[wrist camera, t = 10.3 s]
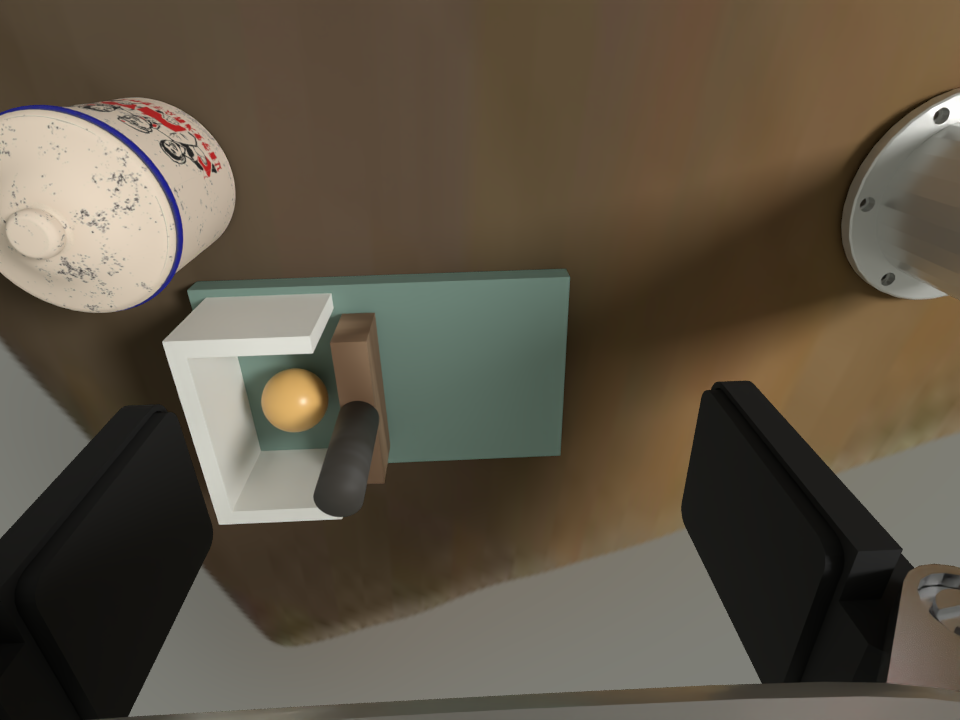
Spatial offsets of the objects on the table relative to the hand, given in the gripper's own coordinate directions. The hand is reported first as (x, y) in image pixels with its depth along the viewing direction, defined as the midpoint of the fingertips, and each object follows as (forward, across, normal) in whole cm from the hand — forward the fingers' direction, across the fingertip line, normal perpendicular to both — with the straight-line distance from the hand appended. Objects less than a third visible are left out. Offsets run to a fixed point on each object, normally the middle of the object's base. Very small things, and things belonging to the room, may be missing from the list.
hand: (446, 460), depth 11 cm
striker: (+25, +6, +12) cm, 28 cm away
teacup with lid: (+26, +18, -1) cm, 32 cm away
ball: (+23, +10, +12) cm, 28 cm away
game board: (+26, +4, +12) cm, 29 cm away
